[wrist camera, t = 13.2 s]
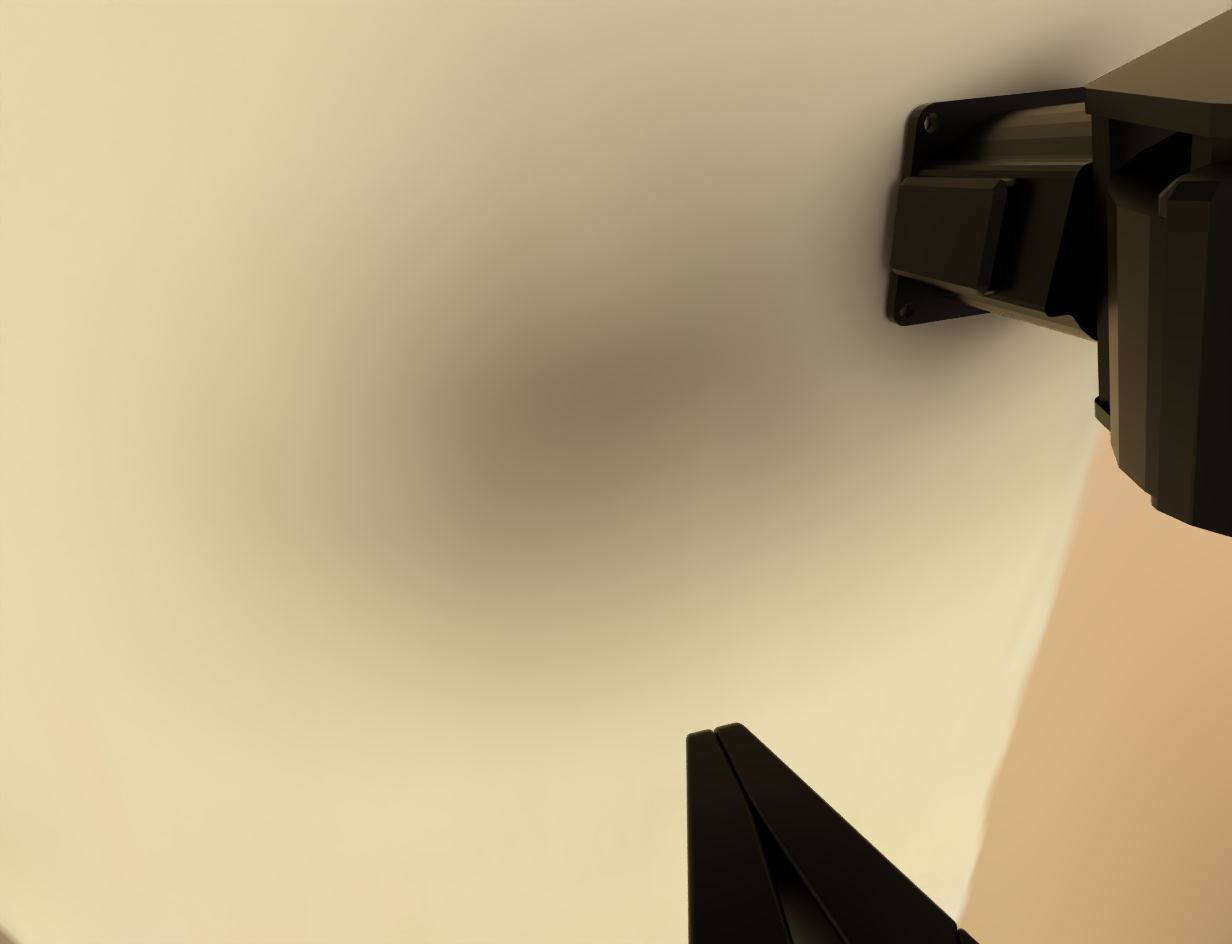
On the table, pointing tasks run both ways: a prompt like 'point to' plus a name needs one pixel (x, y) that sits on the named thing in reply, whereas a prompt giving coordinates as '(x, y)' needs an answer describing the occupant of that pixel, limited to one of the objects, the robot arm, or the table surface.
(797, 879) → the robot arm
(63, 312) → the table surface
